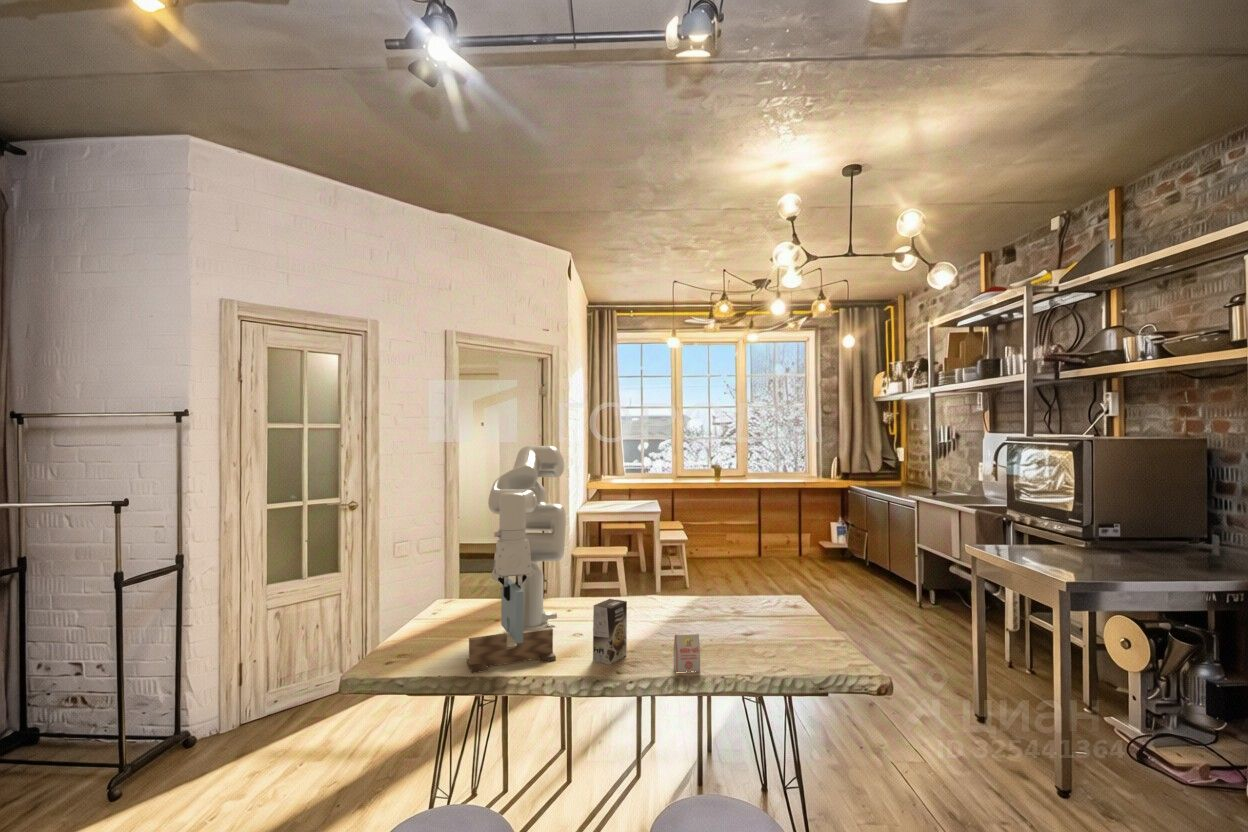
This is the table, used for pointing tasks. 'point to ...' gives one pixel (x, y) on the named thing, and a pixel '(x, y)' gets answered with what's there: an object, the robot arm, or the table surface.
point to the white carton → (686, 653)
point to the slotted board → (510, 649)
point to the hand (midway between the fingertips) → (511, 598)
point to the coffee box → (609, 631)
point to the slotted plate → (513, 612)
